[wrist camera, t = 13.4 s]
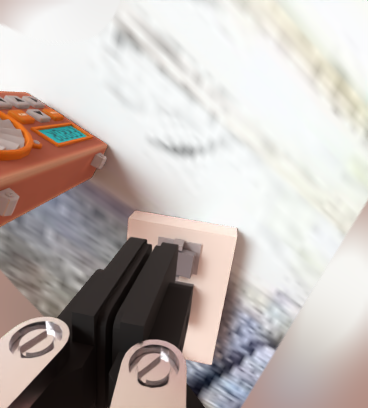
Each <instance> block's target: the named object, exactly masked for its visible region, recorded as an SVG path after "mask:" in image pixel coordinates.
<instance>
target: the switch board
mask: <svg viewBox="0 0 368 408" xmlns="http://www.w3.org/2000/svg"><path fill="white" fill-rule="evenodd" d="M130 237H136V238H142V239H147V244H152V251H153V249H154V247H155V246H156V245H158V246H161V244H162V242H166V243H172V244H178V245H179V250H180V251H182V249H184V250H188V251H191V252H195V260H194V266H193V273H192V276H191V278H190V279H189V278H186V277H182V276H179V275H176V280H175V283H178V284H183V285H189V286H193V296H192V304H191V311H190V317H189V323H188V328H187V333H186V338H185V342H184V347H183V351H182V354H183V356H184V358H185V359H187V360H191V361H196V362H200V363H205V364H209V365H212V360H213V355H214V350H215V345H216V340H217V335H218V330H219V325H220V320H221V315H222V310H223V305H224V300H225V295H226V290H227V285H228V280H229V276H230V271H231V266H232V261H233V256H234V251H235V246H236V241H237V228H235V227H229V226H224V225H218V224H212V223H206V222H200V221H195V220H189V219H183V218H177V217H171V216H166V215H160V214H154V213H148V212H143V211H137V210H135V211H134V212H133V214H132V215H131V216H130V217H129V218H128V233H127V240H128V239H129V238H130Z"/></svg>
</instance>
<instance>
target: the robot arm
mask: <svg viewBox="0 0 368 408" xmlns="http://www.w3.org/2000/svg"><path fill="white" fill-rule="evenodd" d="M178 250H179V245H178V244H172V243H166V242H162V244H161V246H158V245H156V246H155V247H154V249H153V251H152V244H147V239H142V238H136V237H130V238H129V239H128V240H127V242H126V243H125V244H124V245H123V247H122V248H121V249H120V250H119V252H118V253H117V254H116V256H115V257H114V258H113V259H112V261H111V262H110V263H109V264H108V266H107V267H106V268H105V269H104V270H102V269H98V270H97V271H96V272H95V273H94V274H93V275H92V276H91V278H90V279H89V280H88V281H87V282H86V284H85V285H84V286H83V287H82V288H81V290H80V291H79V292H78V293H77V294H76V296H75V297H74V298H73V299H72V300H71V302H70V303H69V304H68V305H67V306H66V308H65V309H64V310H63V311H62V312H61V314H60V315H59V316H58V317H57V318H53V317H38V318H34V319H30V320H28V321H26V322H23V323H20V324H19V325H18V326H16V327H14V328H13V329H11V330H10V331H9V332H8V333H6V334H5V335H4V336H3V337H2V338H0V408H205V407H204V406H203V405H202V403H201V402H200V401H199V399H198V398H197V397H196V395H195V394H194V393H193V391H192V390H191V388H190V387H189V386H188V384H187V383H186V373H187V367H186V361H185V358H184V356H183V354H182V351H183V347H184V342H185V338H186V333H187V328H188V323H189V317H190V311H191V304H192V296H193V286H189V285H183V284H178V283H175V280H176V270H177V260H178Z"/></svg>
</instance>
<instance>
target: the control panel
mask: <svg viewBox="0 0 368 408" xmlns="http://www.w3.org/2000/svg"><path fill="white" fill-rule="evenodd" d="M107 146H108V145H107V144H106V143H104V142H103V141H101V140H100V139H98V138H97V137H95V136H93V135H92V134H90V133H89V132H87V131H86V130H84V129H82V128H81V127H79V126H78V125H76V124H75V123H73V122H72V121H70V120H68V119H67V118H65V117H64V116H63V115H61V114H60V113H58V112H57V111H55V110H53V109H51V108H50V107H48V106H47V105H45V104H44V103H43V102H41V101H39V100H38V99H36V98H35V97H33V96H31V95H29V94H28V93H26V92H7V91H0V227H1V226H3V225H4V224H6V223H8V222H10V221H12V220H14V219H16V218H17V217H19V216H21V215H23V214H25V213H27V212H29V211H30V210H32V209H34V208H36V207H38V206H40V205H42V204H44V203H45V202H47V201H49V200H51V199H53V198H55V197H57V196H58V195H60V194H62V193H64V192H66V191H68V190H70V189H71V188H73V187H75V186H77V185H79V184H81V183H83V182H84V181H86V180H88V179H90V178H92V176H93V174H94V172H95V170H96V168H97V169H102V167H103V165H104V163H105V161H106V160H107V157H106V156H104V155H103V154H104V152H105V150H106V148H107Z"/></svg>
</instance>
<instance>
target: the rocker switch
mask: <svg viewBox="0 0 368 408" xmlns="http://www.w3.org/2000/svg"><path fill="white" fill-rule="evenodd" d="M194 260H195V252H191V251H188V250H184V249H182V251H180V250H178V260H177V270H176V275H179V276H182V277H186V278H189V279H190V278H191V276H192V273H193V266H194Z"/></svg>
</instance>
